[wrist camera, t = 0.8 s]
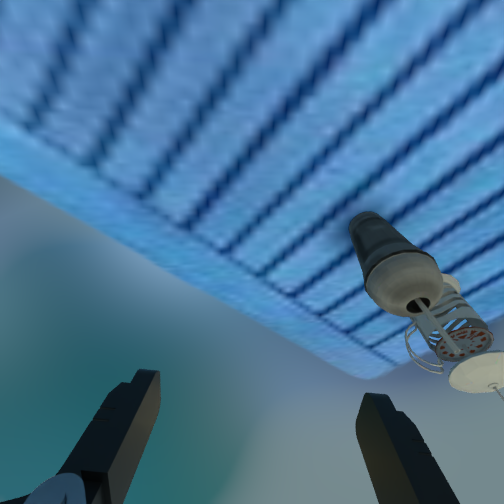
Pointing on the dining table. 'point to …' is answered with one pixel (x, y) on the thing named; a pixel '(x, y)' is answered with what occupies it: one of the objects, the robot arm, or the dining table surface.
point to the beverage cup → (397, 270)
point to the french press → (461, 343)
